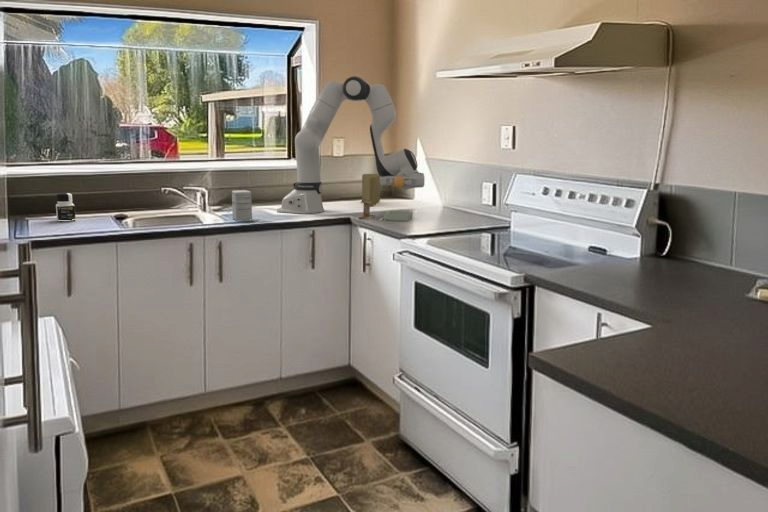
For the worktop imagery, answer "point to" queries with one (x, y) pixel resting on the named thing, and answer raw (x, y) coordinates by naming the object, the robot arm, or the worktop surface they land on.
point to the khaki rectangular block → (371, 188)
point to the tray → (398, 216)
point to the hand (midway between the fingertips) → (398, 182)
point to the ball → (399, 182)
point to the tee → (366, 209)
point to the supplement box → (241, 205)
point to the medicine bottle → (65, 207)
